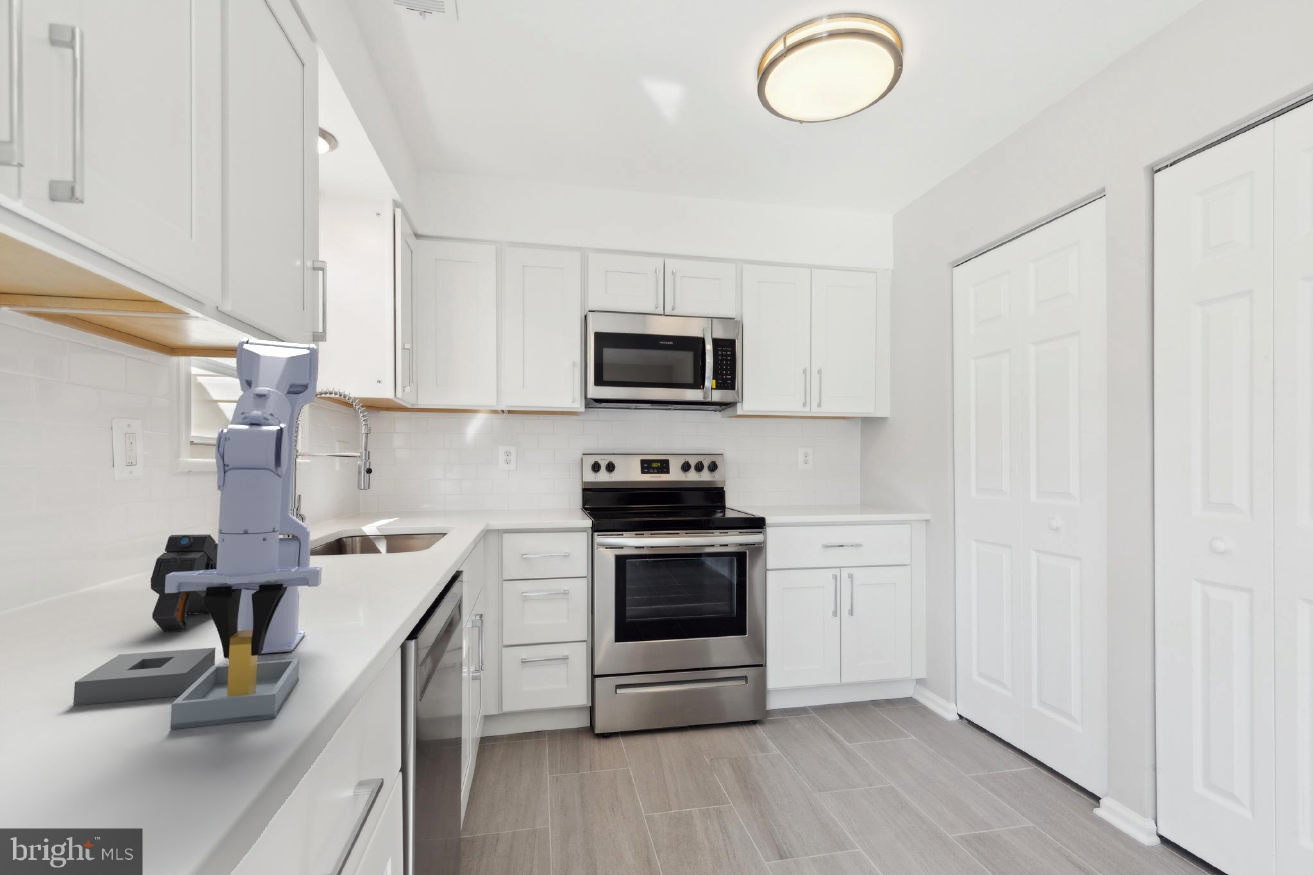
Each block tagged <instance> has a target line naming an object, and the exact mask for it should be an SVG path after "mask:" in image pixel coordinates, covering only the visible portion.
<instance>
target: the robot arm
mask: <svg viewBox="0 0 1313 875" xmlns="http://www.w3.org/2000/svg"><path fill="white" fill-rule="evenodd" d="M235 359H236V361H235V363H236V373H237V375H236V376H237V378H238V380H239V385H240V390H241V392H242V394H240V396H239V397H238V399H237V401H236V405H235V408H234V411H233V414H232V417H231V421H230V423H229V425H228V426H227V429H226V428H225V429H224V428H220V429H219V430H218V433H217V437H216V442H215V450H214V451H215V452H214V453H215V454H214V456H215V457H214V458H215V466H216V472H217V478H216V479H217V482H216V485H217V491H220V496H219V514H218V515H219V516H218V531H217V532H218V536H217V544H218V551H217V569H214V570H202V571H188V572H173V573H170V574H168V575H166V581H165V593H177V592H179V591H198V590H206V593H205V596H204V597H203V598H202V601H203V605H204V606H205V608H206V609H207V611H208V612H209V613H208V614H209V616H210V618H211V619H212V621H213V623H214V626H215V628H216V631H217V635H218V636H219V639H220V643H221V647H222V653H223V658H224V659H229V649H230V638H231V637H232V636H233V635H234V634H235V633H236V632H237V631H241V630H253V632H252V641H251V651H252V656H256V655H257V656H259V655H261V654H271V653H282V652H283V653H284V652H292V651H293V650H294V649H295V648H296V646H298V644H299V643H300V641H301V640H302V638H304V635H305V634H306V631H305V630H299V615H300V613H299V612H300V611H299V610H300V591H299V587H304V586H305V587H311V588H314V587H319V586H320V585H321V584H322V572H323V571H322V570H323V569H322V566H312V567H311V531H310V529H309V527H308V525H307V524H306V523H304V522H303V521H301V520H300V519H298V518H296V517H295V516H294V515H292V514H291V508H292V506H291V505H292V491H293V487H292V486H293V477H294V476H293V474H294V473H293V472H294V460H295V459H294V455H295V443H296V442H295V439H296V425H297V423H296V422H297V419H298V418H299V417H298V416H299V413H300V411H301V408H302V407H305V406H306V405H309V404H311V403H313V402H314V401H315V396H316V395H317V385H318V376H319V348H318V347H317V346H316V344H313V343H310V344H305V343H303V344H301V343H292V342H281V341H270V340H260V339H259V340H258V339H250V338H247V337H243V338H242V339H241V340H240V341H239V342H238V344H237V347H236V358H235ZM280 536H296V537H280ZM225 583H227V584H225Z"/></svg>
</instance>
